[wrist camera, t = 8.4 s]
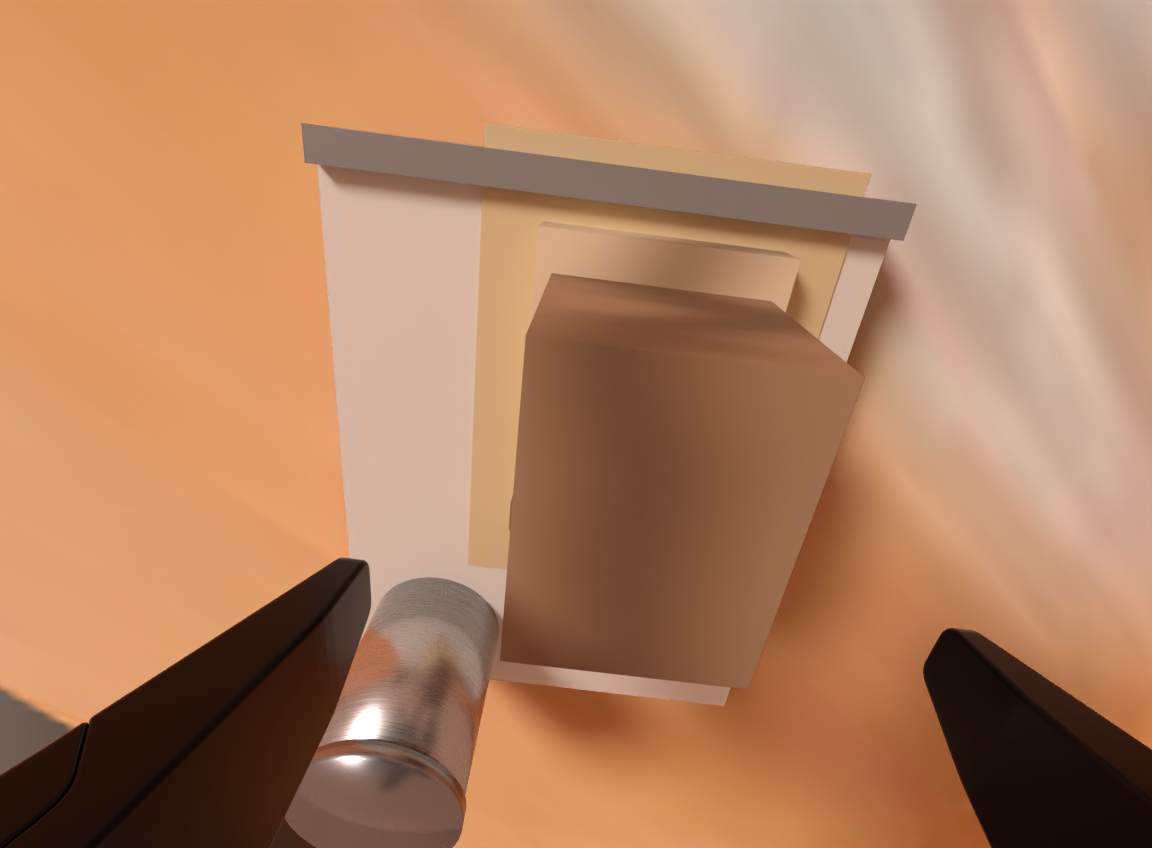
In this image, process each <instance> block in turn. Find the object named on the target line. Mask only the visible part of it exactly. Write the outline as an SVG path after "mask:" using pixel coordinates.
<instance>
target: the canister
mask: <svg viewBox="0 0 1152 848" xmlns="http://www.w3.org/2000/svg"><path fill="white" fill-rule="evenodd" d="M498 634H499V625H498V620H497V617H496V614H495V612H494V611H493V609H492V607H491V606H490V605H489V603H488V602H487V601H486V600H485V599H484V598H483V597H482V596H481V595H479V594H478V593H477V592H475V591H474V590H472V589H471V588H469V587H467V586H465V585H463V584H460V583H457V582H455V581H451V580H447V579H442V578H432V577H426V578H416V579H411V580H407V581H404V582H402V583H400V584H398V585H396V586H394V587H393V588H391V589H390V590H389V591H388V592H387V593H386V594H385V595H384V596H383V597H382V599H381V601H380V602H379V604H378V606H377V609H376V611H375V613H374V615H373V617H372V619H371V621H370V623H369V625H368V627H367V629H366V631H365V633H364V635H363V637H362V639H361V641H360V643H359V645H358V648H357V651H356V654H355V656H354V659H353V662H352V665H351V668H350V670H349V673H348V676H347V679H346V682H345V685H344V687H343V690H342V693H341V696H340V698H339V701H338V704H337V706H336V709H335V712H334V714H333V716H332V719H331V721H330V723H329V725H328V728H327V730H326V732H325V734H324V736H323V738H322V740H321V742H320V744H319V746H318V749H317V751H316V753H315V755H314V757H313V759H312V761H311V763H310V765H309V767H308V769H307V771H306V774H305V776H304V778H303V780H302V782H301V784H300V786H299V788H298V790H297V792H296V794H295V797H294V799H293V801H292V803H291V805H290V807H289V809H288V811H287V813H286V815H285V819H286V821H287V822H288V823H289V825H290V826H291V828H292V829H293V830H294V831H295V832H296V833H297V834H298V835H299V836H301V837H302V838H303V839H304V840H306V841H307V842H309V843H310V844H312V845H313V846H315V847H317V848H452V847H453V846H454V845H455V844H456V843H457V841H458V840H459V837H460V835H461V831H462V827H463V822H464V817H465V812H466V797H465V793H466V788H467V784H468V779H469V774H470V769H471V765H472V760H473V755H474V750H475V745H476V741H477V736H478V731H479V726H480V721H481V717H482V712H483V707H484V702H485V697H486V693H487V688H488V683H489V678H490V673H491V669H492V664H493V659H494V654H495V649H496V645H497V640H498Z"/></svg>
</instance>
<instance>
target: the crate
mask: <svg viewBox="0 0 1152 848" xmlns="http://www.w3.org/2000/svg"><path fill="white" fill-rule="evenodd" d="M800 261H801V260H800V259H798V258H796V257H794V256H792V255H790V254H788V253H786V252H783V251H775V250H767V249H760V248H752V247H744V246H736V245H729V244H721V243H713V242H705V241H698V240H690V239H682V238H674V237H667V236H659V235H651V234H643V233H636V232H628V231H620V230H612V229H605V228H597V227H589V226H581V225H573V224H566V223H558V222H550V221H542V222H541V223H540V225H539V226H538V235H537V247H536V259H535V271H534V283H533V296H532V308H531V320H530V326H529V328H528V331H527V333H526V337H525V350H524V362H523V375H522V388H521V400H520V413H519V425H518V438H517V451H516V463H515V476H514V488H513V496H512V500H511V505H510V518H509V530H510V539H509V551H508V564H507V576H506V589H505V602H504V614H503V627H502V639H501V652H500V661H503V662H512V663H520V664H529V665H538V666H547V667H555V668H564V669H573V670H582V671H590V672H599V673H608V674H616V675H625V676H634V677H643V678H651V679H660V680H669V681H677V682H686V683H695V684H704V685H712V686H721V687H730V688H738V689H747V690H748V688H749V685H750V683H751V680H752V677H753V675H754V672H755V669H756V667H757V664H758V661H759V659H760V656H761V653H762V651H763V648H764V645H765V643H766V640H767V637H768V635H769V632H770V629H771V627H772V624H773V621H774V619H775V616H776V613H777V611H778V608H779V605H780V603H781V600H782V597H783V595H784V592H785V589H786V587H787V584H788V581H789V579H790V576H791V573H792V571H793V568H794V565H795V563H796V560H797V557H798V555H799V552H800V549H801V547H802V544H803V542H804V539H805V536H806V534H807V531H808V528H809V526H810V523H811V520H812V518H813V515H814V512H815V510H816V507H817V504H818V502H819V499H820V496H821V494H822V491H823V488H824V486H825V483H826V480H827V478H828V475H829V472H830V470H831V467H832V464H833V462H834V459H835V456H836V454H837V451H838V448H839V446H840V443H841V440H842V438H843V435H844V432H845V430H846V427H847V424H848V422H849V419H850V416H851V414H852V411H853V408H854V406H855V403H856V400H857V398H858V395H859V392H860V390H861V387H862V384H863V382H864V379H865V377H863V376H862V375H861V374H860V373H859V372H857V371H856V370H855V369H854V368H852V367H851V366H850V365H849V364H848V363H846V362H845V361H844V360H843V359H841V358H840V357H839V356H838V355H837V354H835V353H834V352H833V351H832V350H830V349H829V348H828V347H827V346H826V345H824V344H823V343H822V342H821V341H819V340H818V339H817V338H816V337H815V336H813V335H812V334H811V333H810V332H808V331H807V330H806V329H805V328H804V327H802V326H801V325H800V324H799V323H798V322H796V321H795V320H794V319H793V318H791V317H790V316H789V315H788V314H787V313H786V309H787V306H788V303H789V299H790V296H791V292H792V289H793V285H794V282H795V278H796V275H797V272H798V268H799V265H800Z"/></svg>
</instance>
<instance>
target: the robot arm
mask: <svg viewBox="0 0 1152 848" xmlns="http://www.w3.org/2000/svg"><path fill="white" fill-rule="evenodd" d="M370 609H371V585H370V569H369V565H368V563H367V562H366V561H365V560H361V559H352V558H339V559H337V560H335V561H333V562H332V563H330V564H329V565H327V566H326V567H324V568H323V569H321V570H320V571H318V572H316V573H315V574H313V575H312V576H310V577H309V578H307V579H306V580H304V581H302V582H301V583H299V584H298V585H296V586H295V587H293V588H292V589H290V590H288V591H287V592H285V593H284V594H282V595H281V596H279V597H278V598H276V599H274V600H273V601H271V602H270V603H268V604H267V605H265V606H264V607H262V608H260V609H259V610H257V611H256V612H254V613H253V614H251V615H250V616H248V617H246V618H245V619H243V620H242V621H240V622H239V623H237V624H236V625H234V626H233V627H231V628H229V629H228V630H226V631H225V632H223V633H222V634H220V635H219V636H217V637H215V638H214V639H212V640H211V641H209V642H208V643H206V644H205V645H203V646H201V647H200V648H198V649H197V650H195V651H194V652H192V653H191V654H189V655H187V656H186V657H184V658H183V659H181V660H180V661H178V662H177V663H175V664H173V665H172V666H170V667H169V668H167V669H166V670H164V671H163V672H161V673H160V674H158V675H156V676H155V677H153V678H152V679H150V680H149V681H147V682H146V683H144V684H142V685H141V686H139V687H138V688H136V689H135V690H133V691H132V692H130V693H128V694H127V695H125V696H124V697H122V698H121V699H119V700H118V701H116V702H114V703H113V704H111V705H110V706H108V707H107V708H105V709H104V710H102V711H100V712H99V713H97V714H96V715H94V716H93V717H92V718H91V719H90V721H89V724H88V723H82V724H80V725H78V726H77V727H75V728H74V729H72V730H71V731H69V732H67V733H66V734H64V735H63V736H61V737H60V738H58V739H57V740H55V741H53V742H52V743H51V744H49V745H47V746H46V747H44V748H42V749H41V750H40V751H38V752H36V753H34V754H33V755H31V756H30V757H28V758H26V759H25V760H23V761H22V762H20V763H18V764H17V765H15V766H14V767H12V768H10V769H9V770H7V771H6V772H4V773H2V774H1V775H0V848H270V847H271V844H272V842H273V840H274V838H275V836H276V834H277V832H278V830H279V828H280V826H281V823H282V822H283V819H284V817H285V815H286V813H287V811H288V809H289V807H290V805H291V803H292V801H293V799H294V797H295V794H296V792H297V790H298V788H299V786H300V784H301V782H302V780H303V778H304V776H305V774H306V771H307V769H308V767H309V765H310V763H311V761H312V759H313V757H314V755H315V753H316V751H317V749H318V746H319V744H320V742H321V740H322V738H323V736H324V734H325V732H326V730H327V728H328V725H329V723H330V721H331V719H332V716H333V714H334V712H335V709H336V706H337V704H338V701H339V698H340V696H341V693H342V690H343V687H344V685H345V682H346V679H347V676H348V673H349V670H350V668H351V665H352V662H353V659H354V656H355V654H356V651H357V648H358V645H359V642H360V640H361V637H362V634H363V631H364V628H365V625H366V623H367V620H368V617H369V613H370ZM923 674H924V680H925V683H926V686H927V689H928V692H929V694H930V697H931V700H932V703H933V705H934V708H935V711H936V714H937V717H938V719H939V722H940V725H941V728H942V731H943V733H944V736H945V739H946V742H947V744H948V747H949V750H950V753H951V756H952V758H953V761H954V764H955V767H956V769H957V772H958V774H959V777H960V780H961V782H962V784H963V787H964V789H965V791H966V794H967V796H968V798H969V801H970V803H971V805H972V807H973V809H974V811H975V814H976V816H977V818H978V820H979V822H980V824H981V827H982V829H983V831H984V833H985V835H986V837H987V840H988V842H989V844H990V846H991V848H1152V750H1151V749H1150V748H1148V747H1147V746H1145V745H1144V744H1143V743H1141V742H1140V741H1138V740H1137V739H1135V738H1134V737H1132V736H1131V735H1129V734H1128V733H1126V732H1125V731H1123V730H1122V729H1120V728H1119V727H1117V726H1116V725H1114V724H1113V723H1111V722H1110V721H1109V720H1107V719H1106V718H1104V717H1103V716H1101V715H1100V714H1098V713H1097V712H1095V711H1094V710H1092V709H1091V708H1089V707H1088V706H1086V705H1085V704H1083V703H1082V702H1080V701H1079V700H1077V699H1076V698H1074V697H1073V696H1072V695H1070V694H1069V693H1067V692H1066V691H1064V690H1063V689H1061V688H1060V687H1058V686H1057V685H1055V684H1054V683H1052V682H1051V681H1049V680H1048V679H1046V678H1045V677H1043V676H1042V675H1040V674H1039V673H1038V672H1036V671H1035V670H1033V669H1032V668H1030V667H1029V666H1027V665H1026V664H1024V663H1023V662H1021V661H1020V660H1018V659H1017V658H1015V657H1014V656H1012V655H1011V654H1009V653H1008V652H1006V651H1005V650H1004V649H1002V648H1001V647H999V646H998V645H996V644H995V643H993V642H992V641H990V640H989V639H987V638H986V637H984V636H983V635H981V634H980V633H978V632H975V631H972V630H964V629H956V628H949V629H946V630H945V631H943V632H942V633H941V635H940V636H939V638H938V640H937V642H936V644H935V645H934V647H933V649H932V651H931V652H930V654H929V656H928V658H927V660H926V661H925V664H924V668H923Z"/></svg>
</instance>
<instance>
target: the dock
mask: <svg viewBox="0 0 1152 848" xmlns="http://www.w3.org/2000/svg"><path fill="white" fill-rule="evenodd" d="M301 125H302V136H303V147H304V158H305V163H311V164H317V167H318V180H319V192H320V204H321V216H322V228H323V241H324V253H325V265H326V277H327V289H328V302H329V314H330V326H331V338H332V350H333V363H334V375H335V387H336V399H337V411H338V424H339V436H340V448H341V460H342V472H343V485H344V497H345V509H346V521H347V533H348V545H349V558H352V559H361V560H365V561H366V562H367V563H368V565H369V569H370V585H371V609H370V613H369V617H368V620H367V623H366V625H365V628H364V631H363V634H362V637H363V635H364V633H365V631H366V629H367V627H368V625H369V623H370V621H371V619H372V617H373V615H374V613H375V611H376V609H377V606H378V604H379V602H380V601H381V599H382V597H383V596H384V595H385V594H386V593H387V592H388V591H389V590H390V589H391V588H393V587H394V586H396V585H398V584H400V583H402V582H404V581H407V580H411V579H416V578H426V577H432V578H442V579H447V580H451V581H455V582H457V583H460V584H463V585H465V586H467V587H469V588H471V589H472V590H474V591H475V592H477V593H478V594H479V595H481V596H482V597H483V598H484V599H485V600H486V601H487V602H488V603H489V605H490V606H491V607H492V609H493V611H494V612H495V614H496V617H497V620H498V625H499V634H498V640H497V645H496V649H495V654H494V659H493V664H492V669H491V673H490V678H489V679H492V680H501V681H510V682H519V683H527V684H536V685H545V686H553V687H562V688H571V689H580V690H588V691H597V692H606V693H615V694H623V695H632V696H641V697H649V698H658V699H667V700H676V701H684V702H693V703H702V704H711V705H719V706H724V705H725V703H726V700H727V697H728V694H729V691H730V689H731V688H730V687H721V686H712V685H704V684H695V683H686V682H677V681H669V680H660V679H651V678H643V677H634V676H625V675H616V674H608V673H599V672H590V671H582V670H573V669H564V668H555V667H547V666H538V665H529V664H520V663H512V662H503V661H500V652H501V639H502V627H503V614H504V602H505V589H506V576H507V564H508V551H509V539H510V530H509V518H510V505H511V500H512V496H513V488H514V476H515V463H516V451H517V438H518V425H519V413H520V400H521V388H522V375H523V362H524V350H525V337H526V333H527V331H528V328H529V326H530V320H531V308H532V296H533V283H534V271H535V259H536V247H537V235H538V226H539V225H540V223H541V222H542V221H550V222H558V223H566V224H573V225H581V226H589V227H597V228H605V229H612V230H620V231H628V232H636V233H643V234H651V235H659V236H667V237H674V238H682V239H690V240H698V241H705V242H713V243H721V244H729V245H736V246H744V247H752V248H760V249H767V250H775V251H783V252H786V253H788V254H790V255H792V256H794V257H796V258H798V259H800V260H801V261H800V265H799V268H798V272H797V275H796V278H795V282H794V285H793V289H792V292H791V296H790V299H789V303H788V306H787V309H786V313H787V314H788V315H789V316H790V317H791V318H793V319H794V320H795V321H796V322H798V323H799V324H800V325H801V326H802V327H804V328H805V329H806V330H807V331H808V332H810V333H811V334H812V335H813V336H815V337H816V338H817V339H818V340H819V341H821V342H822V343H823V344H824V345H826V346H827V347H828V348H829V349H830V350H832V351H833V352H834V353H835V354H837V355H838V356H839V357H840V358H841V359H843V360H844V361H845V362H846V363H847V360H848V357H849V354H850V351H851V349H852V346H853V343H854V340H855V337H856V334H857V332H858V329H859V326H860V323H861V320H862V318H863V315H864V312H865V309H866V306H867V304H868V301H869V298H870V295H871V292H872V289H873V287H874V284H875V281H876V278H877V275H878V273H879V270H880V267H881V264H882V261H883V259H884V256H885V253H886V250H887V247H888V245H889V242H890V239H894V240H901V241H903V240H904V238H905V235H906V232H907V229H908V227H909V224H910V221H911V219H912V216H913V213H914V210H915V208H916V205H917V204H911V203H904V202H897V201H890V200H883V199H875V198H868V197H864V196H865V192H866V189H867V186H868V183H869V180H870V177H871V174H867V173H860V172H852V171H845V170H837V169H829V168H822V167H814V166H807V165H799V164H792V163H784V162H777V161H769V160H762V159H754V158H746V157H739V156H731V155H724V154H716V153H709V152H701V151H694V150H686V149H679V148H671V147H664V146H656V145H648V144H641V143H633V142H626V141H618V140H611V139H603V138H596V137H588V136H581V135H573V134H565V133H558V132H550V131H543V130H535V129H528V128H520V127H513V126H505V125H498V124H490V123H485V133H484V147H482V146H474V145H467V144H459V143H452V142H444V141H436V140H429V139H421V138H414V137H406V136H398V135H391V134H383V133H376V132H368V131H361V130H353V129H345V128H336V127H328V126H320V125H312V124H304V123H301ZM362 637H361V639H362ZM360 641H361V640H360ZM359 643H360V642H359Z"/></svg>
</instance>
